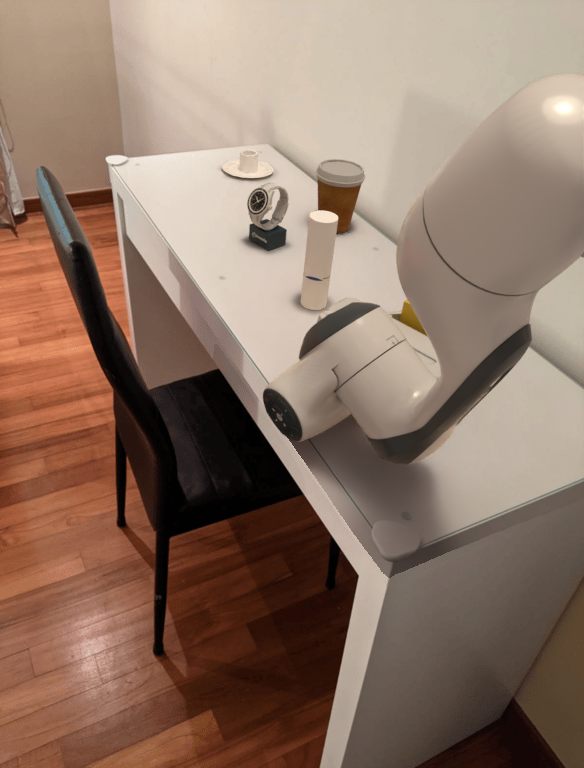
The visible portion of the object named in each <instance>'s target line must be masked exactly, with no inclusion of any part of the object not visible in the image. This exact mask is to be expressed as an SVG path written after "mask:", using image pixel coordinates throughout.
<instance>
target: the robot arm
mask: <svg viewBox="0 0 584 768" xmlns="http://www.w3.org/2000/svg"><path fill="white" fill-rule="evenodd" d="M580 258H584V74H583V73H579V72H578V73H576V72H560V73H559V72H558V73H554V74H549V75H545V76H542V77H540V78H537V79H535V80H532V81H531V82H528V83H527V84H526V85H524V86H522V87H521V88H519V89H518V90H517V91H515V93H513V94H512V95H511V96H510V97H508V98H507V99H506V100H504V101H503V102H502V103H501V104H500V105H499V106H498V107H496V108H495V109H494V110H493V111H492V112H491V113H490V114H489V115H487V116H486V117H485V119H483V120H482V121H481V122H480V123H479V124H478V125H477V126H476V127H475V128H474V129H473V130H472V131H471V132H470V133H469V134H468V135H467V136H466V137H465V138H464V139H463V140H462V141H461V142H460V143H459V144H458V145H457V147H456V148H455V149H454V150H453V151H452V152H451V153H450V154H449V156H448V157H447V158H446V159H445V160H444V161H443V162H442V164H441V165H440V167H439V168H437V170H436V171H435V173H433V175H432V176H431V178H430V179H429V181H428V182H427V184H426V185H425V186H424V188H423V189H422V190H421V191H420V193H419V194H418V196H417V197H416V199H415V200H414V202H413V204H412V205H411V207H410V208H409V210H408V212H407V213H406V216H405V218H404V220H403V222H402V225H401V227H400V231H399V235H398V239H397V243H396V253H395V259H396V260H395V262H396V271H397V276H398V281H399V283H400V286H401V289H402V291H403V293H404V296H405V298H406V300H408V302H409V303H410V305H411V307H412V309H413V311H414V312H415V314H416V316H417V318H418V319H419V321H420V323H421V325H422V327H423V328H424V330H425V332H426V334H427V336H426V335H424V334H422V333H420V332H418V331H416V330H414V329H413V328H411V327H409V326H407V325H405V324H403V323H401V322H399V321H400V317H401V313H402V309H401V310H399V311H385V310H384V309H383V308H382V307H381V305H379V304H377V303H372V302H365V301H362V300H360V299H359V298H357V297H346V298H343V299H341V300H339V301H337V302H335V303H333V305H331V306H329V308H328V309H327V310H324V311H322V312H320V313H319V314H318V316H317V320H316V323H314V324H313V325H312V326H311V327H310V328H308V330H307V332H306V333H305V335H304V336H303V339H302V343H301V346H300V349H299V354H298V360H299V361H297V362H295V363H294V364H292V365H291V366H289V367H288V368H287V369H285V370H284V371H282V372H281V373H280V374H278V376H276V377H275V378H274V379H273V380H272V381H271V382H270V383H268V384H267V385H266V387H265V388H264V389H263V392H262V402H263V406H264V409H265V412H266V414H267V416H268V417H269V419H270V420H271V422H272V423H273V424H274V426H275V427H276V428H277V430H278V431H279V432H280V434H282V435H283V436H284V437H286V438H287V439H289V440H290V441H292V442H295V443H301V442H305V441H307V440H309V439H311V438H314V437H316V436H318V435H319V434H320V435H321V434H322V433H324V432H326V431H328V430H329V429H331V428H332V427H334V426H336V425H337V424H339V423H341V422H342V421H343V420H345V419H346V418H348V417H350V416H352V417H353V419H354V420H355V422H356V423H357V424H358V425H359V427H360V428H361V430H362V431H363V432H364V434H365V437H366V439H367V441H368V442H369V443H370V445H371V447H372V448H373V449H374V451H375V453H376V454H377V455H376V456H378V458H379V459H381V460H384V461H386V462H390V463H395V464H399V465H403V466H404V465H405V466H409V465H410V464H415V463H417V462H420V461H422V460H425V459H426V458H428V457H430V456H431V455H433V454H434V453H436V452H437V451H438V450H439V449H440V448H441V447H443V446H444V444H446V442H447V441H448V440H449V439H450V438H451V436H452V434H453V433H454V431H455V430H456V428H457V426H458V425H459V424H460V423H461V422H462V421H463V419H465V417H467V416H468V414H469V413H470V412H471V411H473V409H474V408H475V407H476V406H477V405H478V404H479V403H480V402H481V401H483V399H485V398H486V396H487V395H489V393H490V392H491V391H492V390H494V389H495V388H496V387H497V385H499V383H500V382H502V381H503V379H504V378H505V377H506V376H507V375H508V374H509V373H510V372H511V371H512V370H513V368H515V366H516V365H517V364H518V363H519V362H520V361H521V359H522V358H523V357H524V355H525V354H526V353H527V351H528V349H529V347H530V345H531V343H532V341H533V334H532V326H531V325H532V324H531V313H532V309H533V304H534V302H535V299H536V296H537V295H538V292H539V291H540V290H542V288H544V287H545V286H547V285H548V284H549V283H551V282H552V281H553V280H555V279H556V278H557V277H558V276H560V275H561V274H563V273H564V272H565V271H566V270H567V269H568V268H570V266H572V265H573V264H574V263H575V262H576V261H578V260H579V259H580Z"/></svg>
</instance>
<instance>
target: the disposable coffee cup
mask: <svg viewBox="0 0 584 768" xmlns="http://www.w3.org/2000/svg"><path fill="white" fill-rule="evenodd" d="M315 176H316V178H317V211H319V210H322V211H329V212H332V213H334V214H336V215H337V216H338V225H337V232H336V234H342V233H345V232H347V231H348V230H349V229H350V225H351V222H352V219H353V216H354V211H355V209H356V205H357V201H358V198H359V195H360V191H361V187H362V184H363V183H364V181H365V179H366V174H365V169H364V167H363V166H362V165H361V164H359V163H357V162H355V161H351V160H347V159H337V158H331V159H324V160H322V161H321V162H319V163H318V167H317V168H316V169H315Z"/></svg>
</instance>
